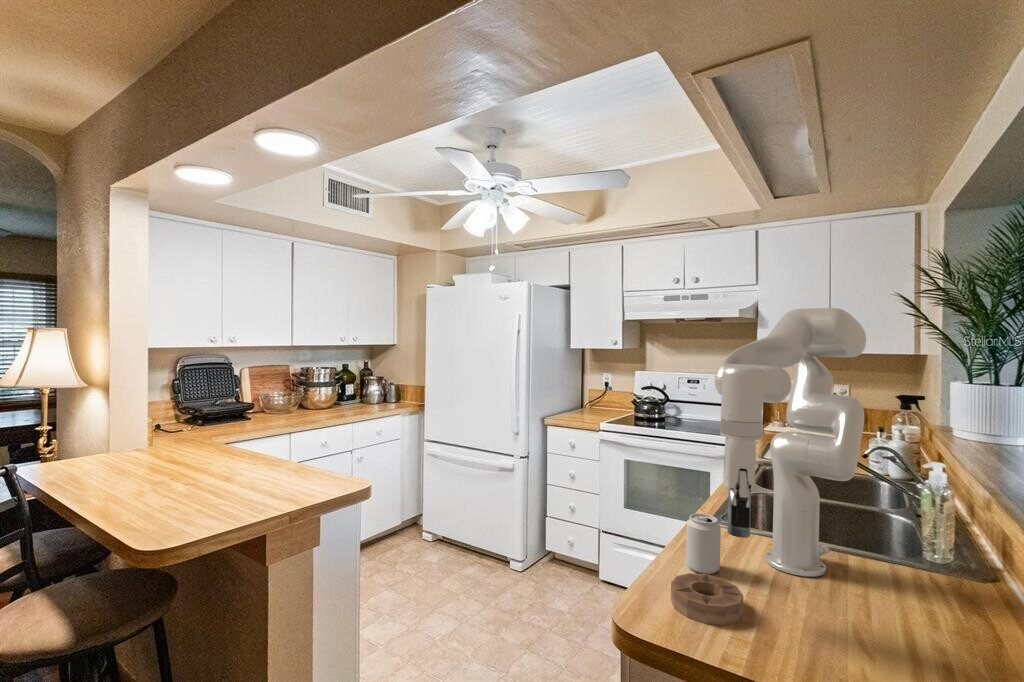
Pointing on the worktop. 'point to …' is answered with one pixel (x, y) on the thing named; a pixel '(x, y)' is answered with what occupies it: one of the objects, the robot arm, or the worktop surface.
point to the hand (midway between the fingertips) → (738, 521)
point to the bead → (707, 599)
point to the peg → (731, 529)
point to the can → (703, 543)
